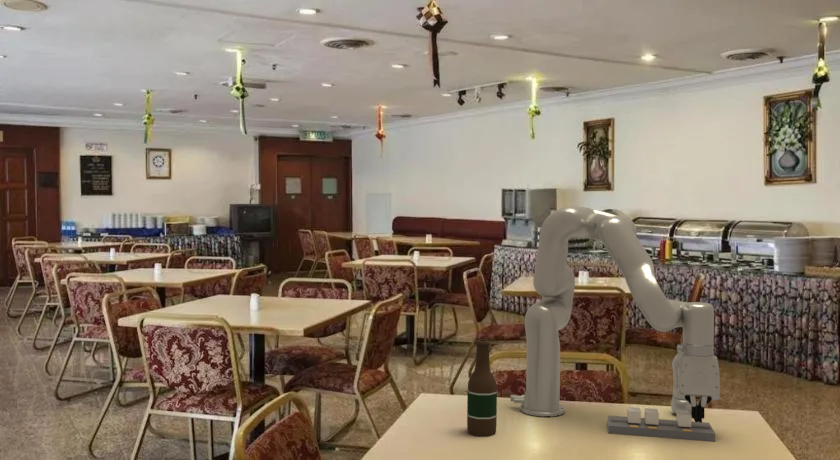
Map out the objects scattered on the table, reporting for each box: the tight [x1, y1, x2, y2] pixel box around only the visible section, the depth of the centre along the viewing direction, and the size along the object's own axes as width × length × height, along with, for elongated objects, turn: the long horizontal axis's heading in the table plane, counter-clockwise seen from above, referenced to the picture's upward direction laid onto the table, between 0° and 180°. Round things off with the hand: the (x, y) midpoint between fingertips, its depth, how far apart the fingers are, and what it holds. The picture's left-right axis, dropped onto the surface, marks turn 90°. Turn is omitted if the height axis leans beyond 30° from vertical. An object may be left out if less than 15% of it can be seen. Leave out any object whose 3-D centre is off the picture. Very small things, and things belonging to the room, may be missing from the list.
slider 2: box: [643, 407, 660, 425], centre depth 194 cm, size 3×4×3 cm
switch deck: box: [607, 415, 716, 442], centre depth 194 cm, size 26×10×2 cm, turn 77°
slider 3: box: [675, 410, 693, 427], centre depth 193 cm, size 3×4×3 cm
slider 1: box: [626, 406, 642, 424], centre depth 195 cm, size 3×4×3 cm
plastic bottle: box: [670, 343, 691, 415], centre depth 211 cm, size 6×7×20 cm
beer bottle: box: [466, 338, 498, 437], centre depth 191 cm, size 8×8×24 cm
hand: (697, 420), depth 192 cm, fingers closed
